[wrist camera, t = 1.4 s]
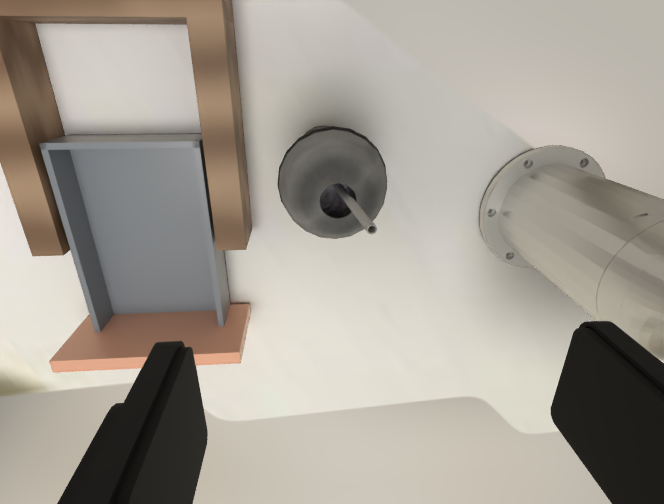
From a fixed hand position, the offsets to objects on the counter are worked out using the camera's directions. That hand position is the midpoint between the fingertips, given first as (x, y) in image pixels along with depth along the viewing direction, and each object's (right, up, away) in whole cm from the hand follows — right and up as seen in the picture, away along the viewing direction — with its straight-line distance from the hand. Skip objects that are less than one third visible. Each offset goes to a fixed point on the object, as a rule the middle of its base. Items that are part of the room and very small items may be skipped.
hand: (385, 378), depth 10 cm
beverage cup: (-2, +12, +27) cm, 30 cm away
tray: (-18, +5, +29) cm, 35 cm away
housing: (-18, +14, +25) cm, 34 cm away
